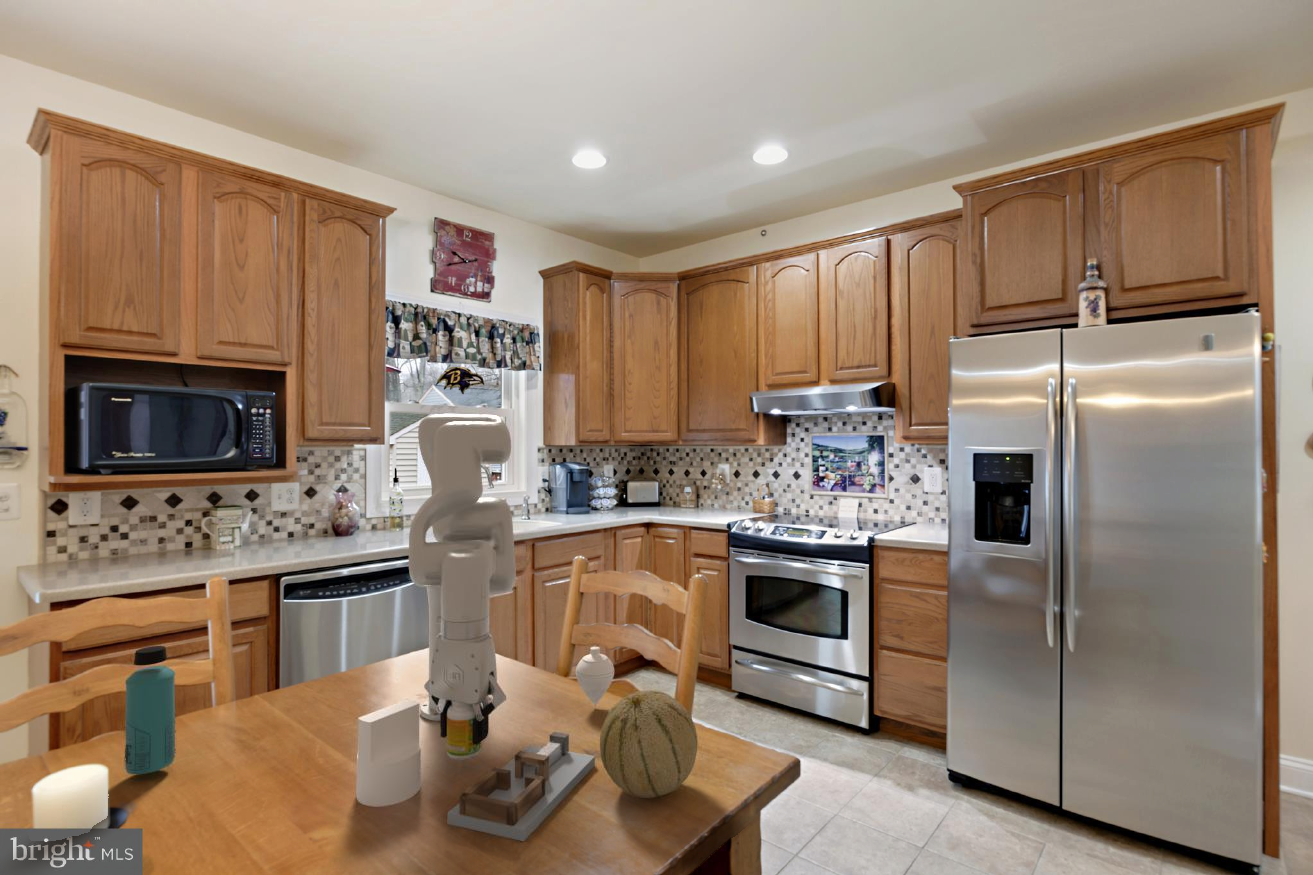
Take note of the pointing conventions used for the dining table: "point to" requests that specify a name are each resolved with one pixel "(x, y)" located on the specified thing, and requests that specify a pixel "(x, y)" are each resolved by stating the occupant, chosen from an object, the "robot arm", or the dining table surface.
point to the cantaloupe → (648, 744)
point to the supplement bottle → (461, 731)
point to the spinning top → (595, 674)
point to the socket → (497, 810)
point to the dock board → (557, 787)
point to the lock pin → (550, 752)
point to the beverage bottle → (150, 713)
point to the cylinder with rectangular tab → (389, 755)
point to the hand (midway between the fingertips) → (464, 736)
